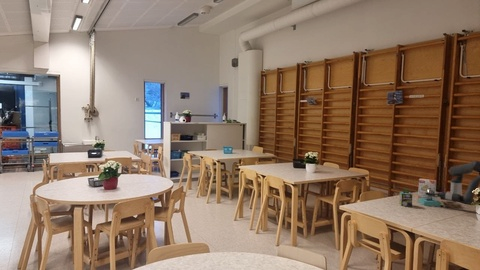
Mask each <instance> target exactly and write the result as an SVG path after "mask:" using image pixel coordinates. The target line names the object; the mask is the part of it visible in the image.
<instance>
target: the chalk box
mask: <svg viewBox="0 0 480 270" xmlns="http://www.w3.org/2000/svg"><path fill="white" fill-rule="evenodd" d="M399 205H400V206H401V207H410V208H412V207H413V193H412V192H410V190H409V189H407V188H406V189H403V190H402V191H399Z"/></svg>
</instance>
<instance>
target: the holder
mask: <svg viewBox="0 0 480 270" xmlns="http://www.w3.org/2000/svg"><path fill="white" fill-rule="evenodd" d="M440 202H441V206H444V207H446V208H454V209H455V208H456V209H461V208H462V203H460V202H455V201H447V200H440Z"/></svg>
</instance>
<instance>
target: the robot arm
mask: <svg viewBox="0 0 480 270" xmlns="http://www.w3.org/2000/svg"><path fill="white" fill-rule="evenodd" d="M473 172H475V173H478V175H476V177H475V178H473V179H472V180H471V181H469V183H468V185H467V187H466V190H465V193H464V195H463V190H462V188H463V181H464V180H463V176H464V175H469V174H471V173H473ZM448 173H449V174H450V175H451V176H455V178H451V180H450V191H443V190H442V191H441V192H440V191H436V192H433V193H427V192H426V195H430V196H432V197H435V198H439V199H440V200H441V201H454V202H457V203H459V204H464V205H467V206H468V205H469V206H472V205H471V203H472V202H474V201H475V199H474V197H475V194H473V193H472V191H473V190H475V189H476V188H478V189H479V186H480V160H473V161H470V162H468V163H464V164H461V165H457V166H451V167H450V168H449V169H448ZM432 194H433V195H432ZM474 203H475V202H474Z"/></svg>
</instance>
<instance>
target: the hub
mask: <svg viewBox="0 0 480 270" xmlns="http://www.w3.org/2000/svg"><path fill="white" fill-rule="evenodd" d="M418 203H419V204H421V205H422V206H424V207H425V206H426V207H441V206H442V204H441V201H439V200H437V199H436V198H435V199H432V201H427V198H419V199H418Z"/></svg>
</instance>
